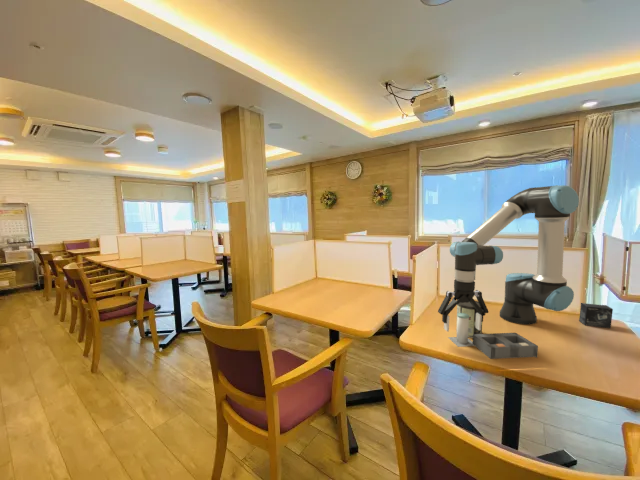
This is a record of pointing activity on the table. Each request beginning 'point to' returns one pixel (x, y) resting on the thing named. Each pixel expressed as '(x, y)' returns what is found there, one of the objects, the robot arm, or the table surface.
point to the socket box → (505, 345)
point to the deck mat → (460, 343)
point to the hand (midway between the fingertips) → (462, 329)
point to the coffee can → (471, 311)
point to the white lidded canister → (462, 328)
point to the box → (596, 315)
